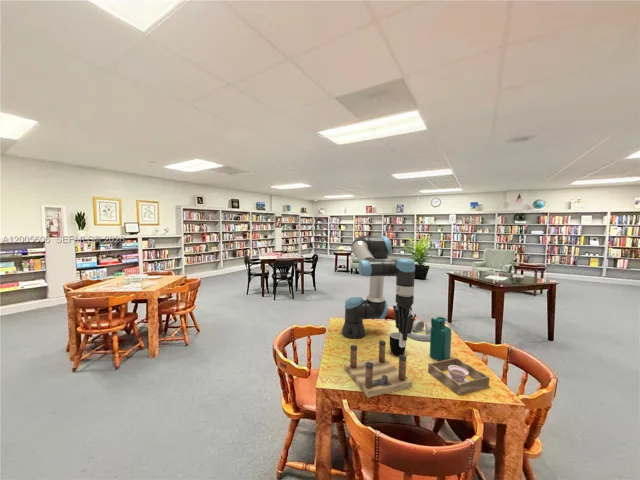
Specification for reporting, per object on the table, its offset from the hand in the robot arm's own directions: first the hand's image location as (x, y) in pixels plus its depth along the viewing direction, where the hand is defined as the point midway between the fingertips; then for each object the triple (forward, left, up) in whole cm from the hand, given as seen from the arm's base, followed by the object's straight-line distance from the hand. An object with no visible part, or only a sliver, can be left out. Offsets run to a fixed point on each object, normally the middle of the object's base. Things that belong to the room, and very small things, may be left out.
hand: (402, 346), depth 115 cm
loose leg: (0, 0, -15) cm, 15 cm away
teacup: (+7, +25, -18) cm, 31 cm away
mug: (-25, +17, -18) cm, 35 cm away
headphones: (-40, +45, -18) cm, 62 cm away
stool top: (-8, -8, -17) cm, 21 cm away
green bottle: (-13, +34, -18) cm, 40 cm away
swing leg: (0, -13, -14) cm, 20 cm away
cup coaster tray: (+5, +27, -17) cm, 32 cm away
